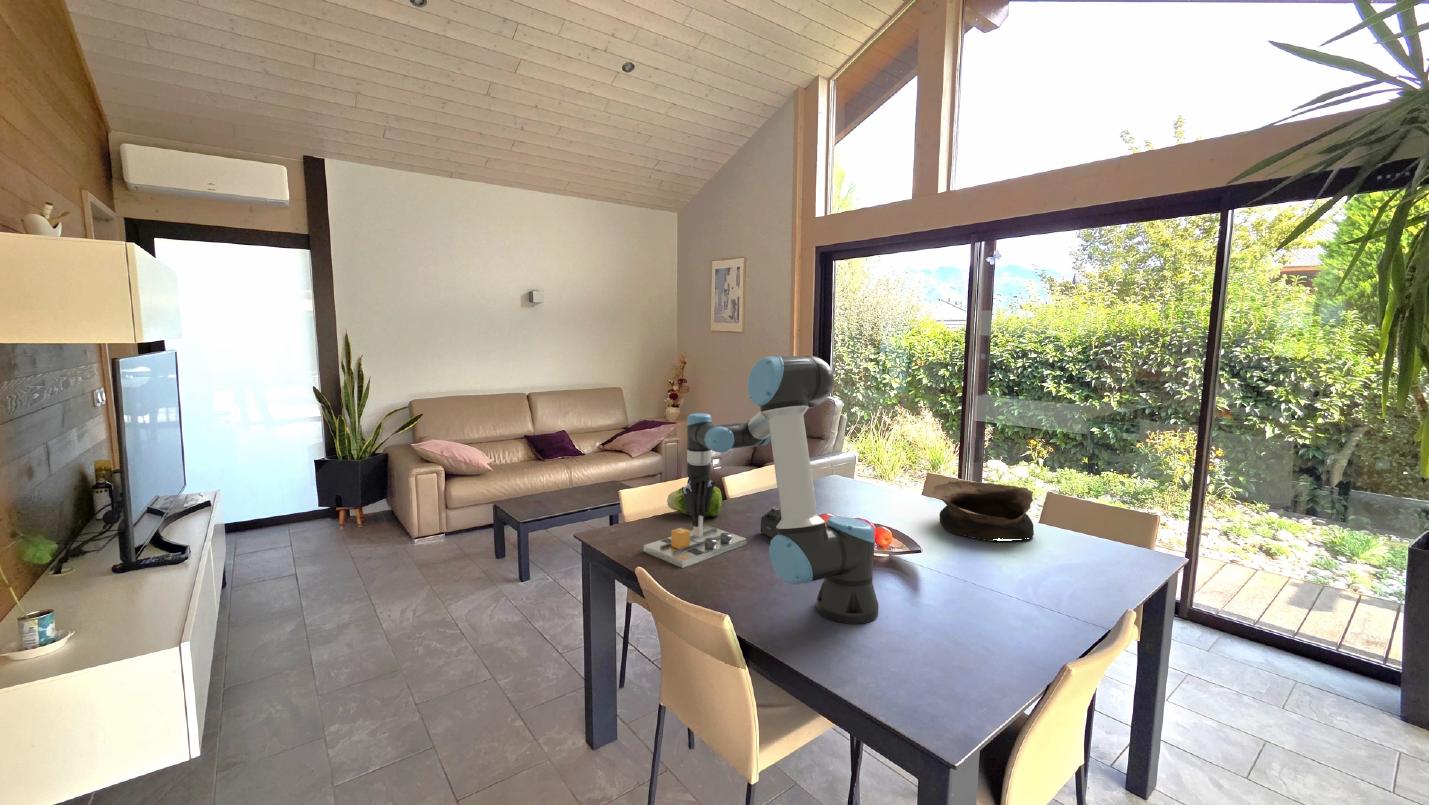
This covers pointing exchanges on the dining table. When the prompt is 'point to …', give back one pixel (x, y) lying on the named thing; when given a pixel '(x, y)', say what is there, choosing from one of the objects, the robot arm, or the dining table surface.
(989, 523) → the bowl
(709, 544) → the console
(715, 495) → the lettuce
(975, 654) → the dining table surface
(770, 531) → the camera
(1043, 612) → the dining table surface
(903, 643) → the dining table surface
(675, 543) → the fader
